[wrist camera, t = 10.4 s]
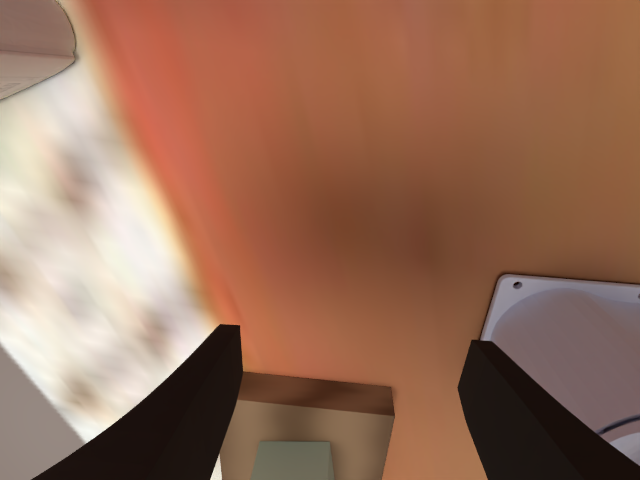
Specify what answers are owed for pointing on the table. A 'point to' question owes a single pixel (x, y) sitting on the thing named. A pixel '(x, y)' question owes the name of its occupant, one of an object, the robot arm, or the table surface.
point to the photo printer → (32, 43)
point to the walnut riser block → (310, 423)
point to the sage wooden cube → (293, 461)
